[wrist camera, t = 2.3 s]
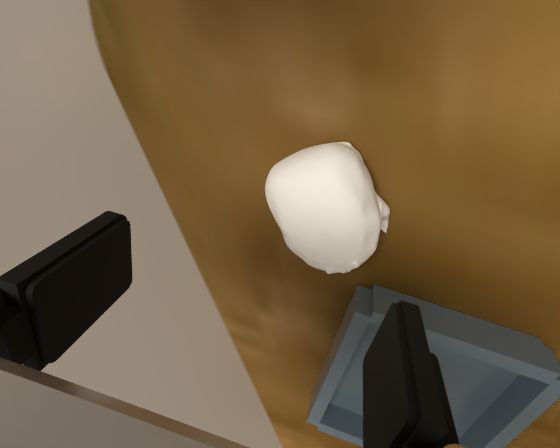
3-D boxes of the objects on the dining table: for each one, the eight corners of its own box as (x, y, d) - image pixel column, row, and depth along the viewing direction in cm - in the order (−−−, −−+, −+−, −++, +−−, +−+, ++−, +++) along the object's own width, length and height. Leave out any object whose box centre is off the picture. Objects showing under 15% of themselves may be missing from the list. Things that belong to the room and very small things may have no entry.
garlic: (401, 240, 21) (406, 274, 17) (306, 263, 23) (294, 297, 20) (360, 121, 18) (356, 135, 15) (258, 162, 21) (236, 182, 18)
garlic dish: (555, 343, 21) (578, 380, 18) (454, 449, 28) (461, 486, 26) (359, 279, 23) (357, 306, 20) (310, 394, 30) (304, 424, 27)
